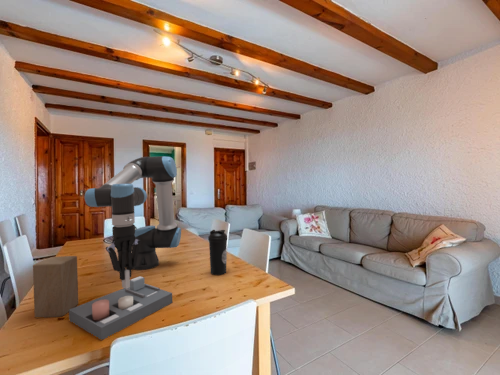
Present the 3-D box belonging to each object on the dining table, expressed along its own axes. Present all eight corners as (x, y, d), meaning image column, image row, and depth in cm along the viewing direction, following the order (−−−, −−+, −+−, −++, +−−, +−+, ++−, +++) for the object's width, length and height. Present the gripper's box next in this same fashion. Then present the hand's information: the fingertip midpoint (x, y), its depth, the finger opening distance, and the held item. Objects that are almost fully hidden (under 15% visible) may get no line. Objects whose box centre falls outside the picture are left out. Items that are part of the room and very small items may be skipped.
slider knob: (129, 289, 104) (129, 279, 104) (140, 285, 109) (140, 275, 108) (133, 291, 103) (133, 281, 103) (144, 287, 107) (144, 277, 107)
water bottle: (224, 276, 129) (223, 232, 128) (206, 275, 131) (205, 232, 130) (230, 269, 139) (229, 228, 138) (212, 268, 141) (212, 228, 140)
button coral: (89, 318, 84) (89, 304, 84) (104, 312, 89) (104, 298, 89) (97, 322, 82) (96, 308, 82) (112, 315, 86) (112, 301, 86)
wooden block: (53, 305, 101) (51, 256, 101) (79, 303, 102) (77, 255, 101) (34, 318, 91) (32, 264, 91) (62, 316, 92) (61, 263, 91)
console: (69, 320, 89) (68, 306, 89) (139, 290, 113) (139, 280, 113) (101, 340, 78) (101, 324, 78) (172, 302, 102) (172, 290, 101)
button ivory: (115, 313, 92) (115, 299, 92) (128, 307, 96) (128, 294, 96) (123, 316, 90) (123, 303, 89) (136, 310, 94) (135, 297, 94)
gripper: (111, 229, 85) (114, 296, 86) (145, 222, 96) (147, 282, 97) (100, 227, 89) (102, 291, 90) (133, 221, 100) (135, 278, 101)
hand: (126, 287), depth 93 cm, fingers closed
